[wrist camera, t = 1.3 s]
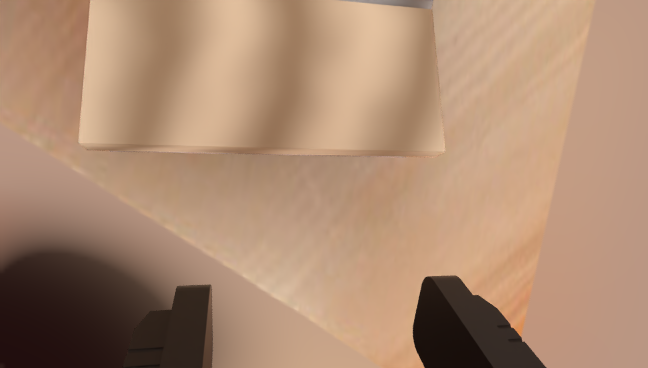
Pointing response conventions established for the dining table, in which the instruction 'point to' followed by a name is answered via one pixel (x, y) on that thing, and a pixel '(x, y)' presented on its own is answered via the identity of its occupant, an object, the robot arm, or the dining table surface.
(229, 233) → the dining table surface
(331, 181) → the dining table surface
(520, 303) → the dining table surface
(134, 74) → the plank
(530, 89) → the dining table surface
